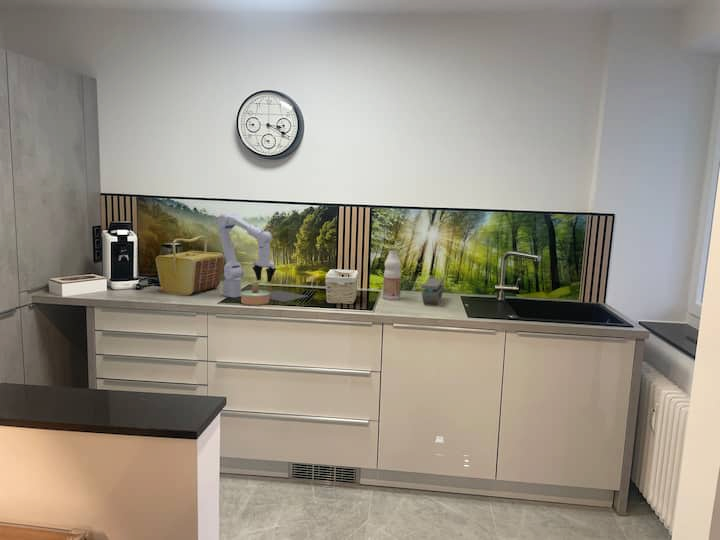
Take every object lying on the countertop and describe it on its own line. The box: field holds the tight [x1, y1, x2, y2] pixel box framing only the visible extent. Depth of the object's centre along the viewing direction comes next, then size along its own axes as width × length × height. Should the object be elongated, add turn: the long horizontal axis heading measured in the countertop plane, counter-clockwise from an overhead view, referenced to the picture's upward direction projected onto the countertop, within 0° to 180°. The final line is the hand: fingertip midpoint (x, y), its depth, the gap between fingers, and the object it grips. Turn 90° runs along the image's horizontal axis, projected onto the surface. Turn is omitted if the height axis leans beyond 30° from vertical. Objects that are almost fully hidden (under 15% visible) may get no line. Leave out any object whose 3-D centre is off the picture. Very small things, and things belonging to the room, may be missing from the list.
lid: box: [240, 282, 271, 297], centre depth 295 cm, size 15×15×6 cm
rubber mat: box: [269, 290, 309, 304], centre depth 311 cm, size 22×20×1 cm
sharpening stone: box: [421, 277, 445, 306], centre depth 310 cm, size 25×8×11 cm, turn 164°
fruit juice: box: [382, 247, 402, 301], centre depth 314 cm, size 9×9×28 cm
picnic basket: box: [155, 235, 225, 296], centre depth 320 cm, size 29×26×30 cm
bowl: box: [240, 295, 270, 306], centre depth 296 cm, size 14×14×4 cm
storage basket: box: [324, 268, 359, 305], centre depth 308 cm, size 24×16×15 cm
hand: (264, 280), depth 300 cm, fingers open, 7 cm apart
